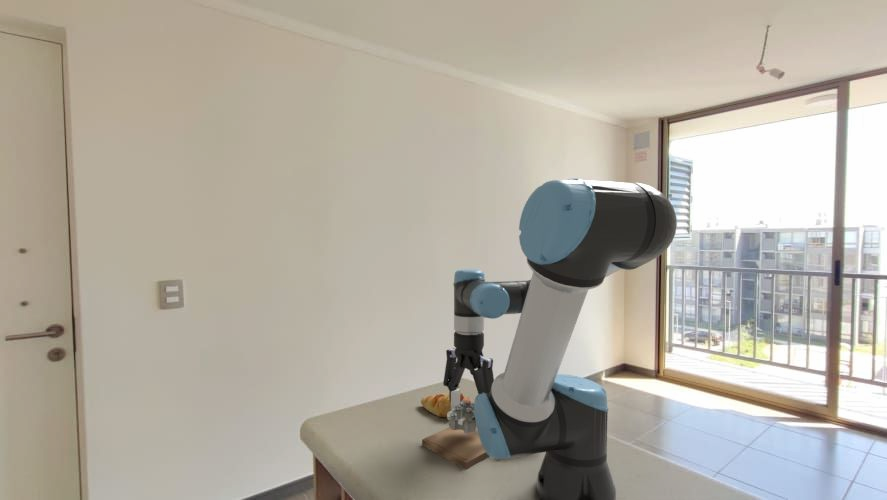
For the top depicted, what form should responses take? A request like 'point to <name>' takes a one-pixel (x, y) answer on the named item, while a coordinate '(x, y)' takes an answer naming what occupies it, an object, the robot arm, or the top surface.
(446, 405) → the croissant
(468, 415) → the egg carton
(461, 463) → the walnut board
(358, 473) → the top surface
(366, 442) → the top surface
